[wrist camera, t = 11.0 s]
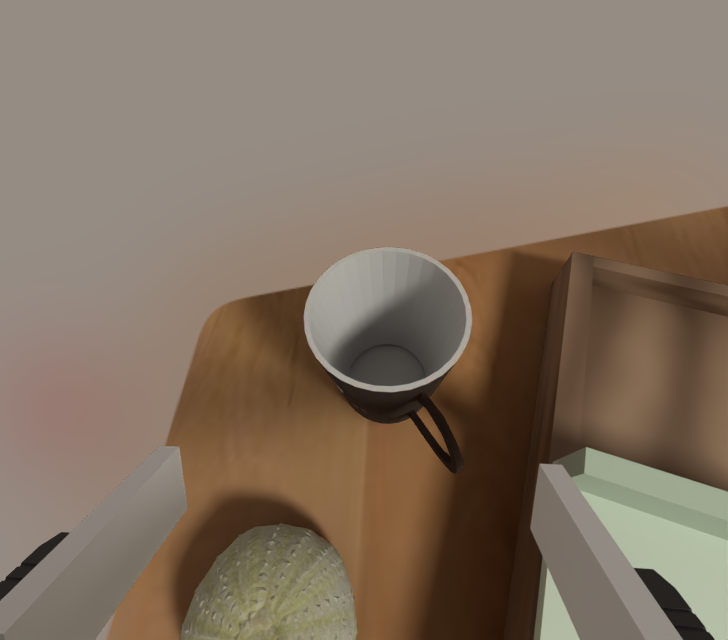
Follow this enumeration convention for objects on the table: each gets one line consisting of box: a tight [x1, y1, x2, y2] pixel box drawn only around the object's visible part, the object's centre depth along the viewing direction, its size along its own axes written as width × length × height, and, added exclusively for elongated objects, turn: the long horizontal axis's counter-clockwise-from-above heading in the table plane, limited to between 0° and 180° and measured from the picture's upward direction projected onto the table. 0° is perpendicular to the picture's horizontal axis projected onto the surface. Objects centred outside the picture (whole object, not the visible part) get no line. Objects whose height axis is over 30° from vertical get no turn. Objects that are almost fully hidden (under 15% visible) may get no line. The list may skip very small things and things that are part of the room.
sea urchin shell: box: [180, 523, 358, 640], centre depth 20 cm, size 9×8×8 cm
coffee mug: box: [304, 247, 472, 474], centre depth 23 cm, size 12×9×10 cm
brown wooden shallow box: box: [503, 252, 728, 640], centre depth 21 cm, size 16×30×4 cm, turn 161°
